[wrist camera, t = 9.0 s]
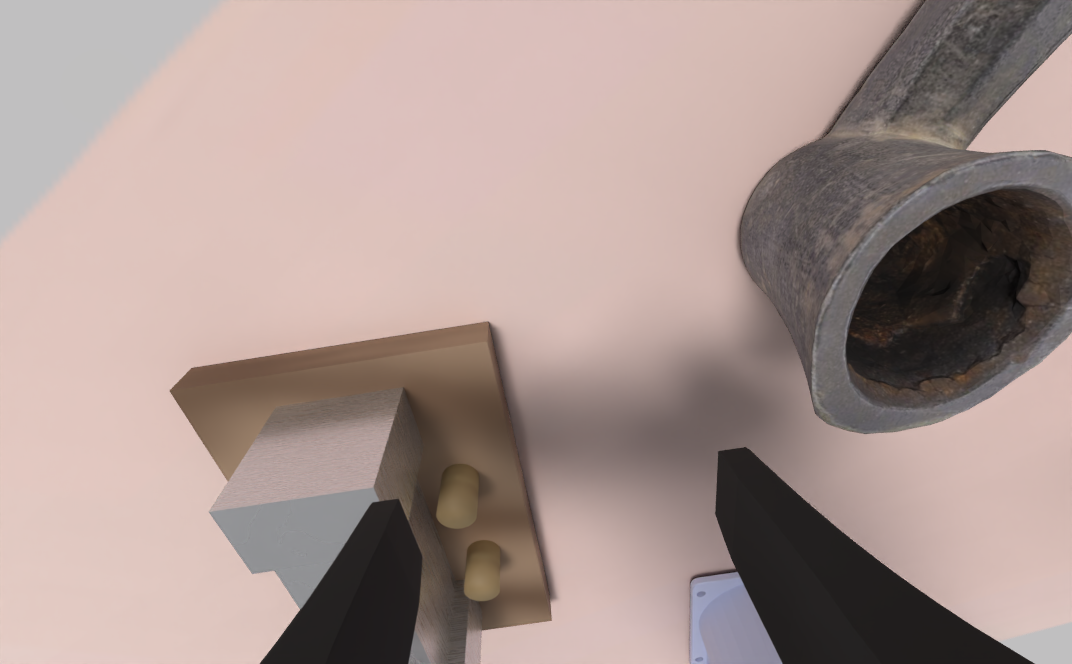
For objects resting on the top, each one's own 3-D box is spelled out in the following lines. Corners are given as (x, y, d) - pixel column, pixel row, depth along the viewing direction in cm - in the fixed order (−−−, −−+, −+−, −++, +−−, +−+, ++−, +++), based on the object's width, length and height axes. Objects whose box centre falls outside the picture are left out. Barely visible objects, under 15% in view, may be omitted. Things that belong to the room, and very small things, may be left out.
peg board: (549, 594, 28) (555, 659, 25) (344, 623, 29) (325, 691, 26) (488, 321, 19) (484, 372, 16) (191, 368, 20) (134, 426, 17)
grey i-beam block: (482, 613, 26) (477, 723, 22) (390, 626, 27) (367, 738, 22) (403, 386, 19) (373, 487, 15) (275, 406, 19) (208, 511, 15)
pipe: (1054, -14, 15) (1531, -69, 8) (783, 326, 20) (927, 469, 13) (910, -132, 13) (1344, -326, 6) (659, 270, 19) (748, 399, 12)
